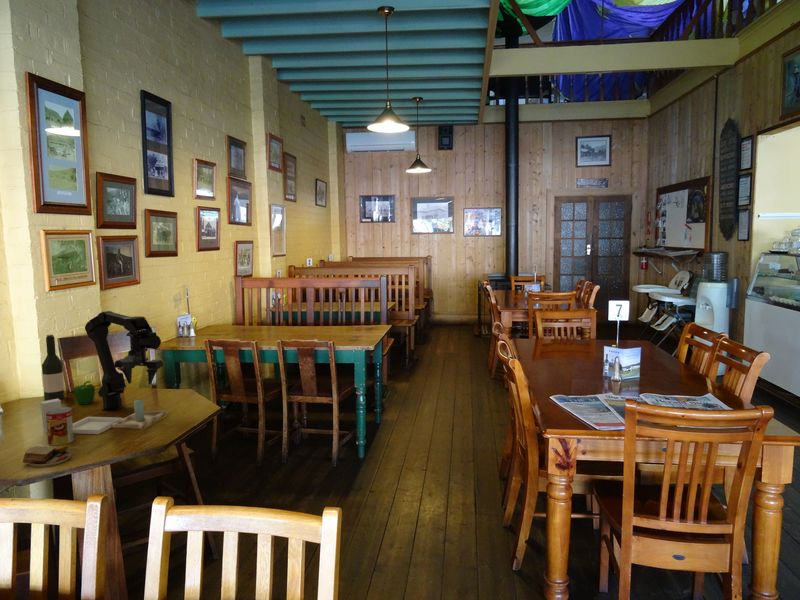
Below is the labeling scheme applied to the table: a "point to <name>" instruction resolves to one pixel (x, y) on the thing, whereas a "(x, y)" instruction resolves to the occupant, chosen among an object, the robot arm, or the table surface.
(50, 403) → the skincare box
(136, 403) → the pin
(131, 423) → the tray
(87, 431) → the white rimmed platter
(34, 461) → the toy sandwich meal
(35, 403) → the table surface
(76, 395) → the bell pepper
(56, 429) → the canned food
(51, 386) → the wine bottle
